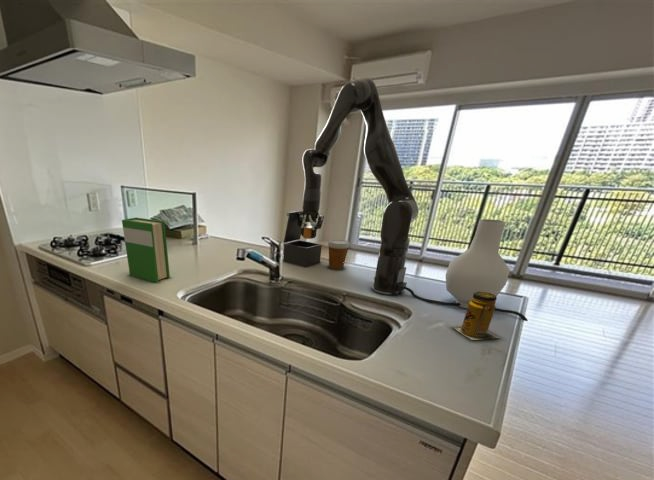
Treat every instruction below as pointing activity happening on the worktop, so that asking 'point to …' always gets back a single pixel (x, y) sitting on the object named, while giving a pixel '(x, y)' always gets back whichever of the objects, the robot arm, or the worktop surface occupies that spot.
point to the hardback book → (146, 248)
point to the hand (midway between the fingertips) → (308, 236)
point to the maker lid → (292, 227)
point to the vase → (479, 265)
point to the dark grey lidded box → (302, 253)
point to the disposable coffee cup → (337, 253)
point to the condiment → (479, 317)
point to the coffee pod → (307, 232)
